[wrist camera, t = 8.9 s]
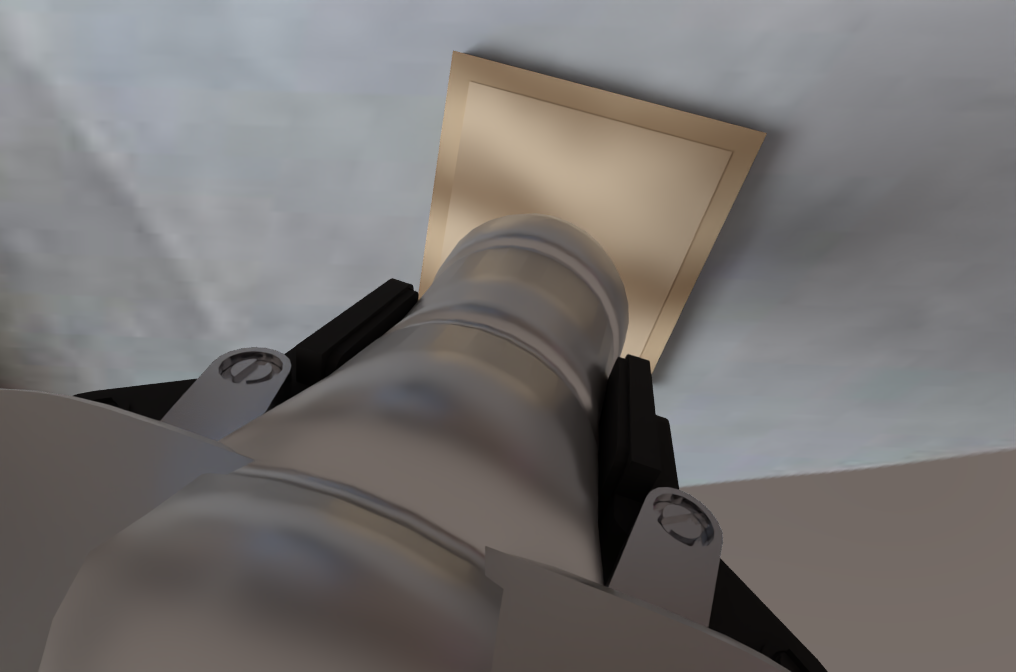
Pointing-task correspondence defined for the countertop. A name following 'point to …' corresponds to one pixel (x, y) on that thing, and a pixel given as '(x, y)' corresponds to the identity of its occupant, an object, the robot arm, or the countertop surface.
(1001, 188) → the countertop surface
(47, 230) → the countertop surface
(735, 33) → the countertop surface
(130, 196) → the countertop surface
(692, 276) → the oak board
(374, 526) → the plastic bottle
